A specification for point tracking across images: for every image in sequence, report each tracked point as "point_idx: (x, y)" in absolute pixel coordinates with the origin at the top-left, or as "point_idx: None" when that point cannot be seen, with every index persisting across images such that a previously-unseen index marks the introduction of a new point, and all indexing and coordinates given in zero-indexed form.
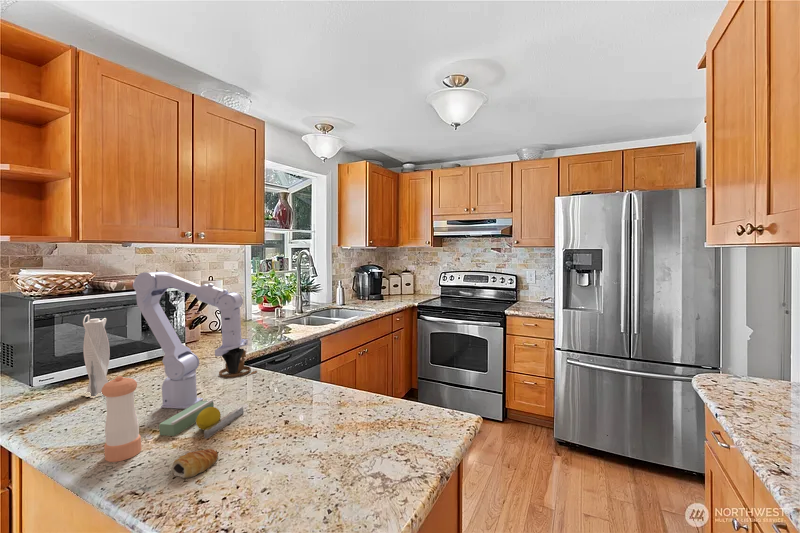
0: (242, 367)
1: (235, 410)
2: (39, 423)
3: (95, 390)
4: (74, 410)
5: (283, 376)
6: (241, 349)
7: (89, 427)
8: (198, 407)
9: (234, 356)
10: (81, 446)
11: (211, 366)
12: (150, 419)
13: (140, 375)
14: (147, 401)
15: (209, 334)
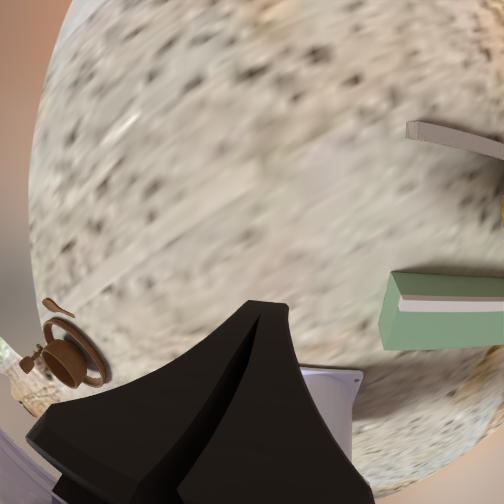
0: (56, 343)
1: (461, 139)
2: (380, 489)
3: None
4: None
5: (33, 195)
6: (67, 474)
7: (421, 452)
8: (478, 306)
9: (354, 475)
10: (499, 409)
11: None
12: (417, 403)
13: None
14: None
15: (33, 414)
